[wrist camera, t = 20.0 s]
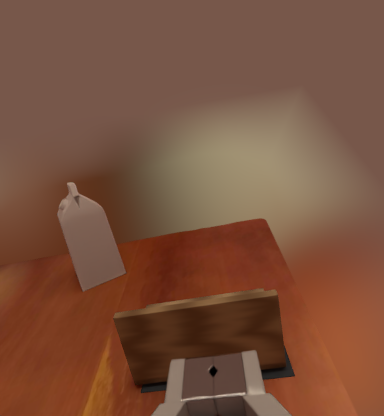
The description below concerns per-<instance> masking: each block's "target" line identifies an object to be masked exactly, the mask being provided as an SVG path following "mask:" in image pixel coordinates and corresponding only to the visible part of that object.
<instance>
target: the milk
mask: <svg viewBox="0 0 384 416" xmlns="http://www.w3.org/2000/svg"><path fill="white" fill-rule="evenodd" d="M67 186H68V190H69V194H68V196H67V198H66V199H63V200H62V201H61V203H60V206H59V211H58V213H57V215H58V219H59V222H60V225H61V228H62V231H63V234H64V237H65V241H66V244H67V247H68V250H69V253H70V256H71V259H72V262H73V266H74V269H75V272H76V275H77V277H78V280H79V283H80V285H81V288H82V291H86V290H88V289H90V288H93V287H95V286H97V285H100V284H102V283H104V282H107V281H109V280H111V279H114V278H116V277H118V276H121V275H123V274H125V273H126V271H125V268H124V265H123V262H122V260H121V257H120V254H119V251H118V248H117V245H116V242H115V240H114V237H113V234H112V231H111V229H110V225H109V223H108V220H107V217H106V214H105V212H104V210H103V208H102V207H101V206H100V205H99V204H97V203H96V202H94V201H92V200H91V199H89V198H87V197H85V196H83V195H81V194H79V193H78V191H77V188H76V185H75V184H74V183H73V182H71V183H67Z"/></svg>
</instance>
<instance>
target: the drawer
mask: <svg viewBox="0 0 384 416" xmlns="http://www.w3.org/2000/svg"><path fill="white" fill-rule="evenodd" d="M113 319H114V322H115V325H116V328H117V331H118V334H119V337H120V341H121V344H122V347H123V350H124V353H125V356H126V359H127V362H128V365H129V368H130V371H131V374H132V377H133V380H134V383H135V385H141V384H149V383H157V382H165V381H168V374H169V367H170V362H171V360H172V359H183V358H191V357H203V356H213V355H220V354H228V353H236V352H241V354H242V352H244V351H252V350H256V352H257V355H258V360H259V365H260V369H261V370H264V369H272V368H280V367H286V359H285V351H284V342H283V334H282V325H281V317H280V308H279V299H278V294H277V292H276V290H270V291H264V290H263V288H261V289H254V290H248V291H241V292H234V293H227V294H220V295H213V296H207V297H200V298H193V299H186V300H179V301H172V302H165V303H159V304H152V305H147V306H146V309H139V310H132V311H125V312H118V313H115V315H114V318H113Z"/></svg>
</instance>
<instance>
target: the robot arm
mask: <svg viewBox="0 0 384 416" xmlns="http://www.w3.org/2000/svg"><path fill="white" fill-rule="evenodd" d="M151 416H292V415H291V414H290V413H289V412H288V411H287V410H286V409H285V408H284V407H283V406H282V405H281V404H280V403H279V402H278V401H277V400H276V399H275V398H274V396H273V395H272V394H271V393H267V394H266V392H265V388H264V383H263V379H262V374H261V369H260V365H259V360H258V355H257V352H256V350H252V351H244V352H242V354H241V352H236V353H228V354H220V355H213V356H203V357H191V358H183V359H172V360H171V362H170V367H169V374H168V381H167V388H166V394H165V401H164V404H160V405H159V406H158V407H157V409H156V410H155V411H154V412H153V414H152V415H151Z"/></svg>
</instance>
